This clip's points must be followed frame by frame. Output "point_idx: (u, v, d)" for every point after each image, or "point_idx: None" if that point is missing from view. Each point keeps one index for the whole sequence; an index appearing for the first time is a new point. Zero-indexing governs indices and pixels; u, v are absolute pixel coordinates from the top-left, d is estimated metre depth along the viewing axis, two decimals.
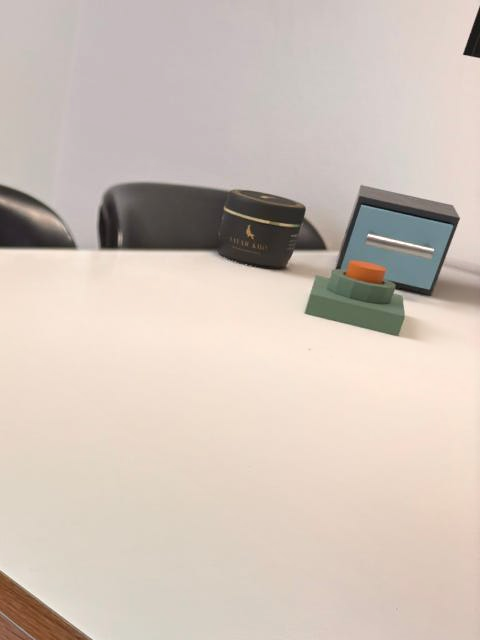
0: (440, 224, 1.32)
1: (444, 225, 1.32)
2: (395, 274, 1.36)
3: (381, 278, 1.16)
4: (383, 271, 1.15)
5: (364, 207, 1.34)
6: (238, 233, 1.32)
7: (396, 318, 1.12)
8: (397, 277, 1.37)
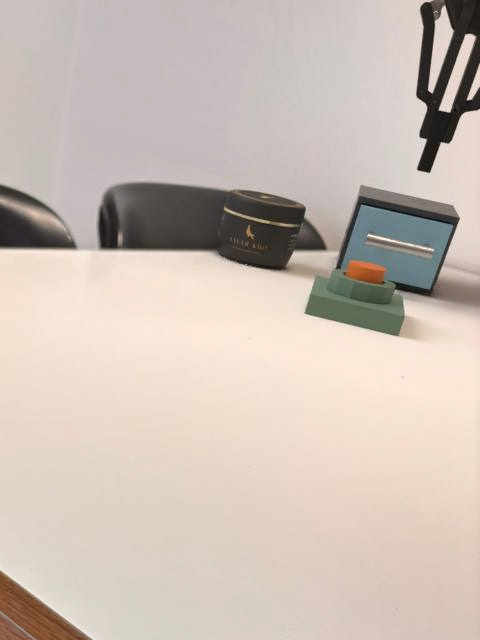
0: (440, 224, 1.32)
1: (444, 225, 1.32)
2: (395, 274, 1.36)
3: (381, 278, 1.16)
4: (383, 271, 1.15)
5: (364, 207, 1.34)
6: (238, 233, 1.32)
7: (396, 318, 1.12)
8: (397, 277, 1.37)
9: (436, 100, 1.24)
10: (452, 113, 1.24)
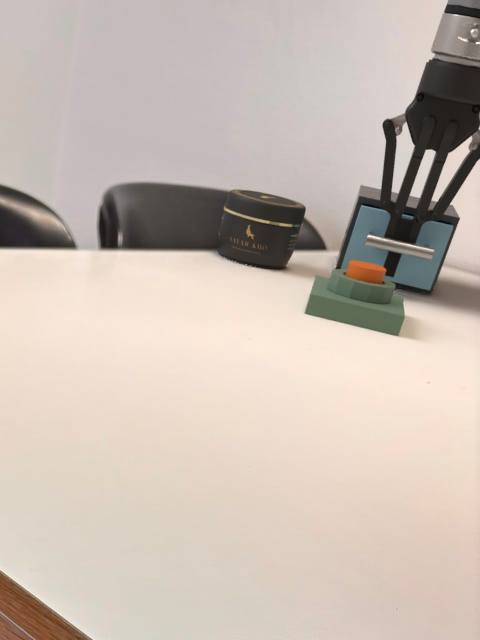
0: (440, 225, 1.32)
1: (444, 226, 1.32)
2: (395, 275, 1.36)
3: (381, 278, 1.16)
4: (383, 271, 1.15)
5: (364, 207, 1.34)
6: (238, 233, 1.32)
7: (396, 318, 1.12)
8: (397, 278, 1.36)
9: (398, 210, 1.29)
10: (414, 222, 1.29)
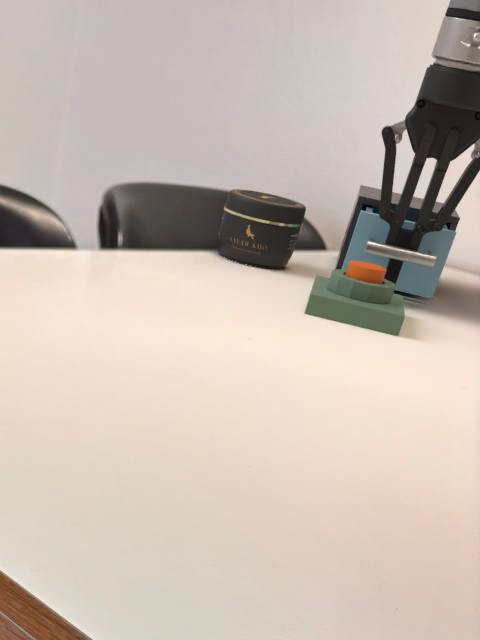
0: (443, 231, 1.27)
1: (447, 232, 1.27)
2: (396, 282, 1.31)
3: (381, 278, 1.16)
4: (383, 271, 1.15)
5: (364, 213, 1.29)
6: (238, 233, 1.32)
7: (396, 318, 1.12)
8: (398, 285, 1.31)
9: (398, 220, 1.24)
10: (414, 233, 1.25)
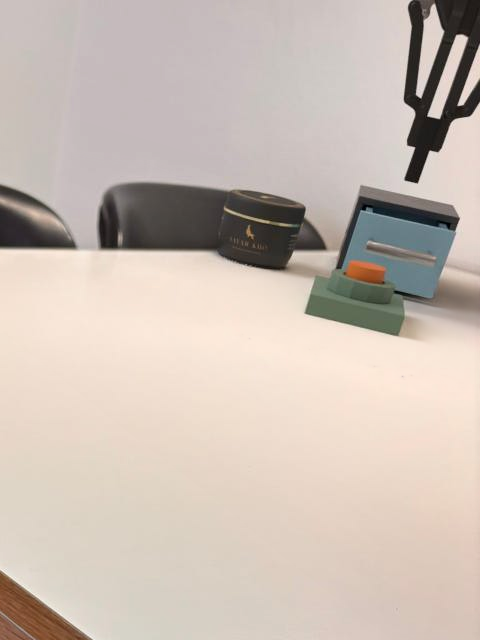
0: (443, 231, 1.27)
1: (447, 232, 1.27)
2: (396, 282, 1.31)
3: (381, 278, 1.16)
4: (383, 271, 1.15)
5: (364, 213, 1.29)
6: (238, 233, 1.32)
7: (396, 318, 1.12)
8: (398, 285, 1.31)
9: (425, 105, 1.15)
10: (442, 119, 1.15)
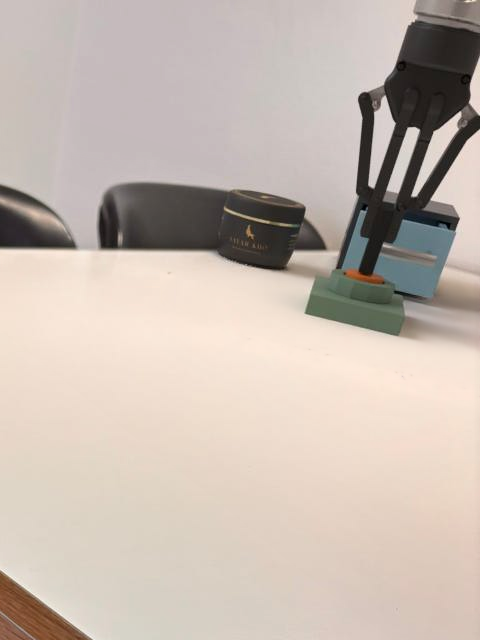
0: (443, 231, 1.27)
1: (447, 232, 1.27)
2: (396, 282, 1.31)
3: None
4: (380, 279, 1.16)
5: (364, 213, 1.29)
6: (238, 233, 1.32)
7: (396, 318, 1.12)
8: (398, 285, 1.31)
9: (377, 197, 1.12)
10: (395, 211, 1.12)
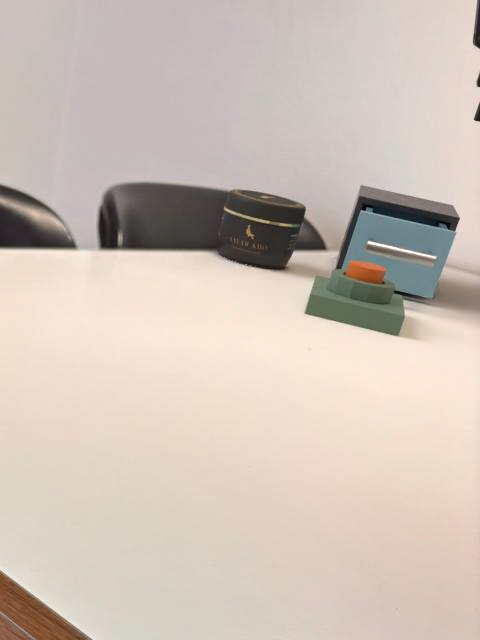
0: (443, 231, 1.27)
1: (447, 232, 1.27)
2: (396, 282, 1.31)
3: (381, 278, 1.16)
4: (383, 271, 1.15)
5: (364, 213, 1.29)
6: (238, 233, 1.32)
7: (396, 318, 1.12)
8: (398, 285, 1.31)
9: None
10: None
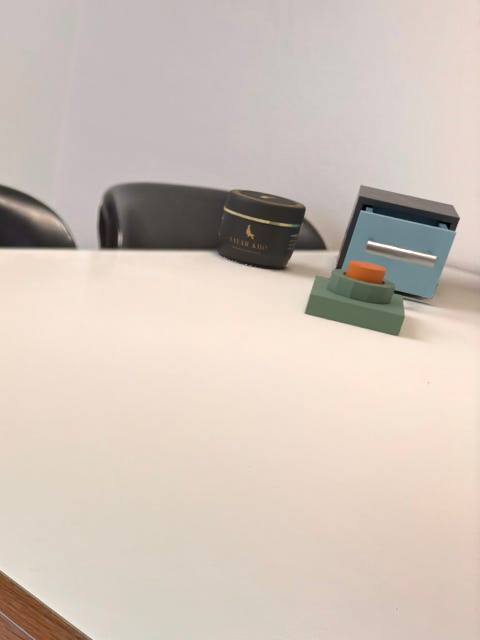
0: (443, 231, 1.27)
1: (447, 232, 1.27)
2: (396, 282, 1.31)
3: (381, 278, 1.16)
4: (383, 271, 1.15)
5: (364, 213, 1.29)
6: (238, 233, 1.32)
7: (396, 318, 1.12)
8: (398, 285, 1.31)
9: None
10: None
